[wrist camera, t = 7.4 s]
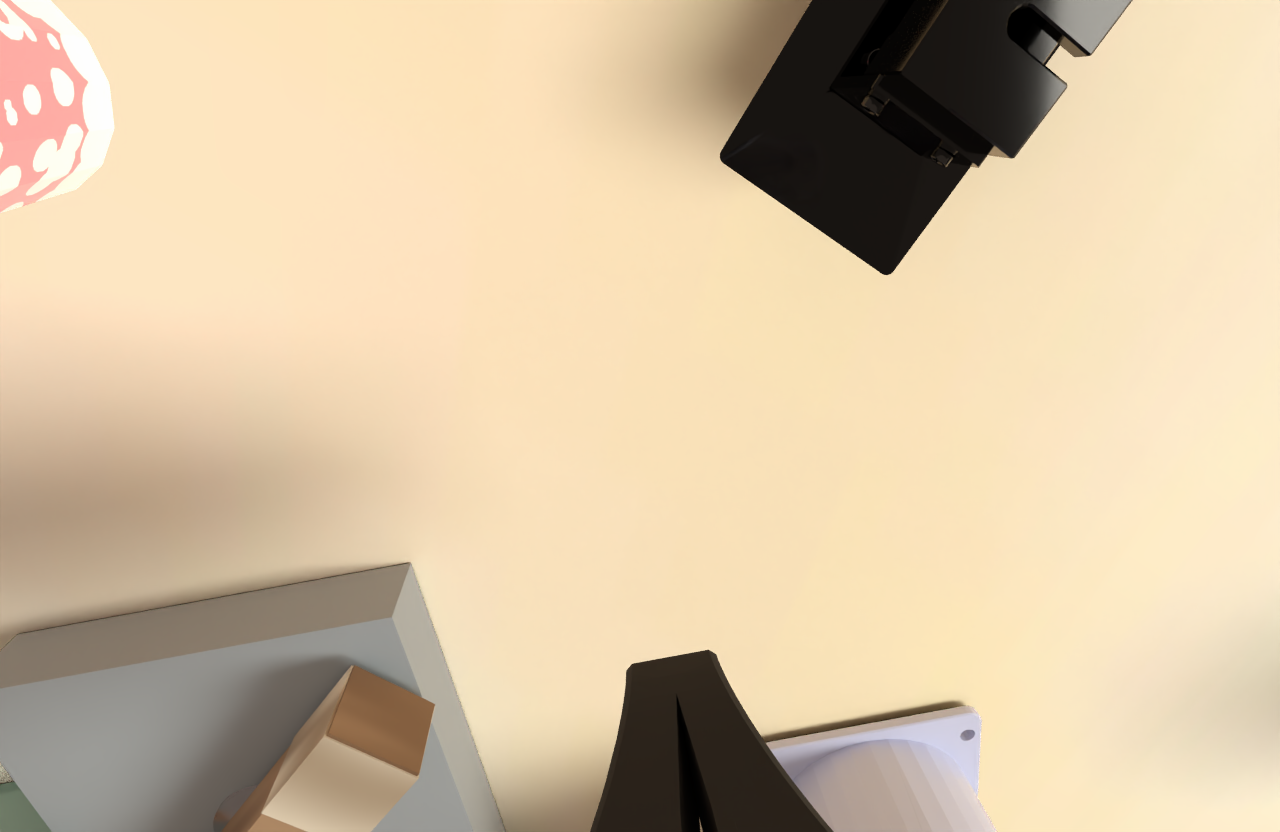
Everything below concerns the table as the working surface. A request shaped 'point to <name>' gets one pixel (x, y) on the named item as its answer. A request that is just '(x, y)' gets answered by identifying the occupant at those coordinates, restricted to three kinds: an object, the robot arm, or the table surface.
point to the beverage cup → (48, 104)
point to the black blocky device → (903, 107)
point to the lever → (343, 761)
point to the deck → (224, 705)
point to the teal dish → (18, 811)
